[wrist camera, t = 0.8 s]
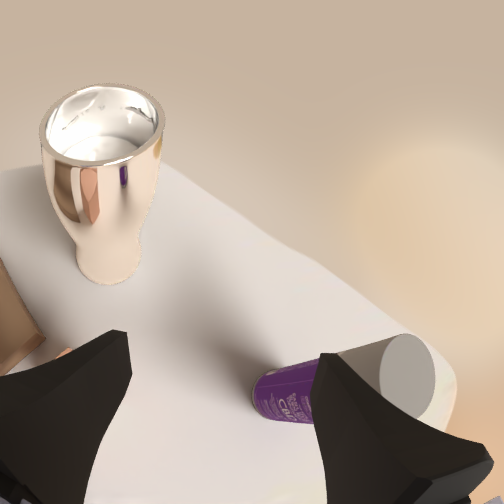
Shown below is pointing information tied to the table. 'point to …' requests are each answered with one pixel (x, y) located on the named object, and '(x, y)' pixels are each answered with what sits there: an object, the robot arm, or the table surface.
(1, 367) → the walnut base
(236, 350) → the table surface
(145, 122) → the beer glass
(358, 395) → the robot arm
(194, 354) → the table surface
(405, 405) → the container
